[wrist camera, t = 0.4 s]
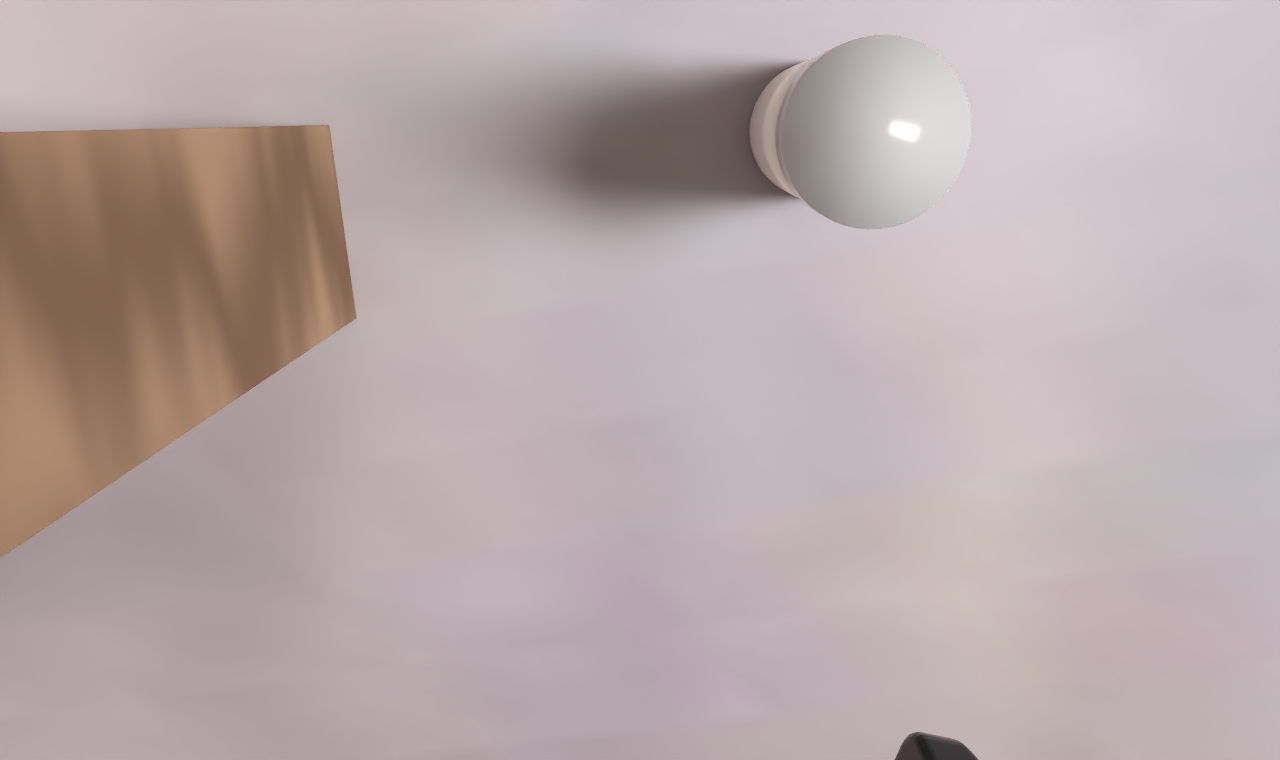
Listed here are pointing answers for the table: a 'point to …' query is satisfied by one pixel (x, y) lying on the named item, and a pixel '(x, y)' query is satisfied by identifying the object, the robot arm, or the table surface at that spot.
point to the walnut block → (151, 293)
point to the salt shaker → (865, 131)
